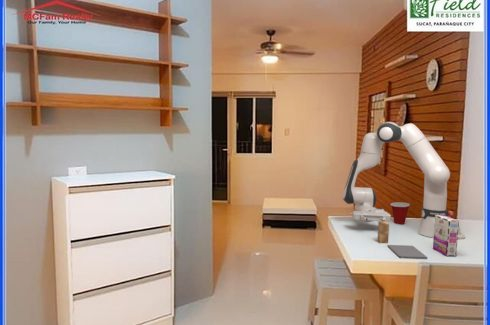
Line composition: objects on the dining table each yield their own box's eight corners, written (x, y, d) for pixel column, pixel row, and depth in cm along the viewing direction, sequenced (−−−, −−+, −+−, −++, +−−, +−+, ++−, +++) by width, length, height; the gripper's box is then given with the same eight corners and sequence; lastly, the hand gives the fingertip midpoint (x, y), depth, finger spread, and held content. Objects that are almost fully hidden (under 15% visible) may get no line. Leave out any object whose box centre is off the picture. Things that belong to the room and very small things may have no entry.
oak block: (385, 240, 191) (386, 221, 190) (388, 243, 187) (389, 223, 186) (377, 240, 191) (378, 221, 190) (379, 243, 187) (381, 223, 186)
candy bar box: (457, 256, 170) (459, 220, 168) (446, 256, 170) (449, 220, 168) (442, 248, 181) (444, 214, 180) (432, 248, 181) (434, 214, 179)
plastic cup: (386, 221, 232) (387, 201, 231) (403, 221, 233) (404, 201, 232) (394, 225, 221) (395, 205, 220) (412, 225, 222) (413, 205, 221)
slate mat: (412, 247, 182) (412, 245, 182) (427, 259, 166) (427, 257, 166) (387, 246, 182) (387, 244, 182) (399, 258, 166) (399, 256, 166)
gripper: (349, 207, 214) (355, 213, 201) (386, 209, 214) (394, 215, 200) (348, 218, 215) (355, 224, 201) (385, 220, 214) (393, 226, 201)
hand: (375, 220), depth 201 cm, fingers open, 8 cm apart
